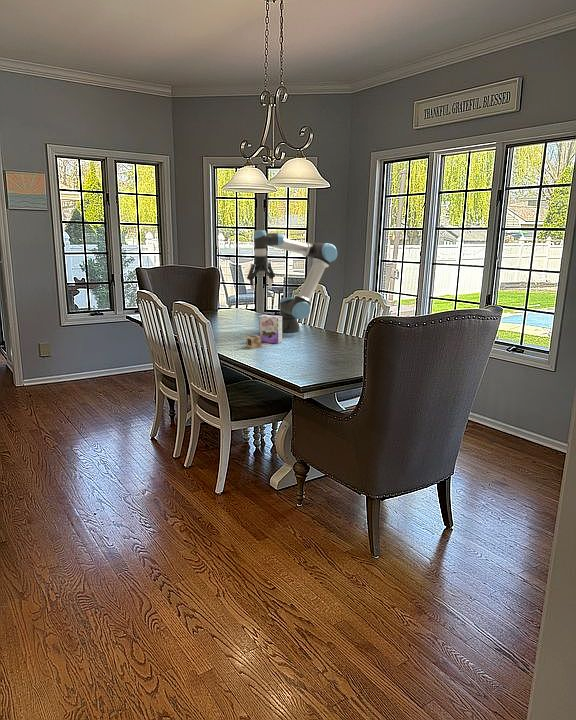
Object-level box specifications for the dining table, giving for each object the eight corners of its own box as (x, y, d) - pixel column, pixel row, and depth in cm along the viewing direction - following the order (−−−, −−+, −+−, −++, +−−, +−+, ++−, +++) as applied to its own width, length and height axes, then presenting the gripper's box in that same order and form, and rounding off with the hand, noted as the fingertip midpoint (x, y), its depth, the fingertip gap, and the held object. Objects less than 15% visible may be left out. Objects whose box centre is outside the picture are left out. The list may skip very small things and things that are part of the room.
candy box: (258, 341, 331) (258, 315, 327) (263, 340, 336) (263, 314, 332) (278, 344, 325) (277, 317, 321) (282, 342, 330) (282, 316, 326)
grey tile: (266, 343, 326) (266, 342, 326) (272, 345, 321) (272, 344, 321) (256, 345, 322) (256, 344, 322) (263, 347, 316) (263, 346, 316)
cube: (255, 344, 320) (254, 334, 319) (260, 346, 316) (260, 336, 314) (246, 346, 317) (246, 336, 315) (252, 348, 312) (251, 337, 311)
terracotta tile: (255, 345, 321) (255, 344, 321) (261, 347, 316) (261, 346, 316) (245, 346, 317) (245, 346, 317) (252, 348, 312) (252, 348, 312)
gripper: (272, 254, 341) (273, 287, 347) (240, 256, 326) (242, 291, 331) (279, 254, 336) (280, 288, 341) (247, 256, 321) (248, 291, 326)
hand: (261, 289), depth 336 cm, fingers open, 13 cm apart
